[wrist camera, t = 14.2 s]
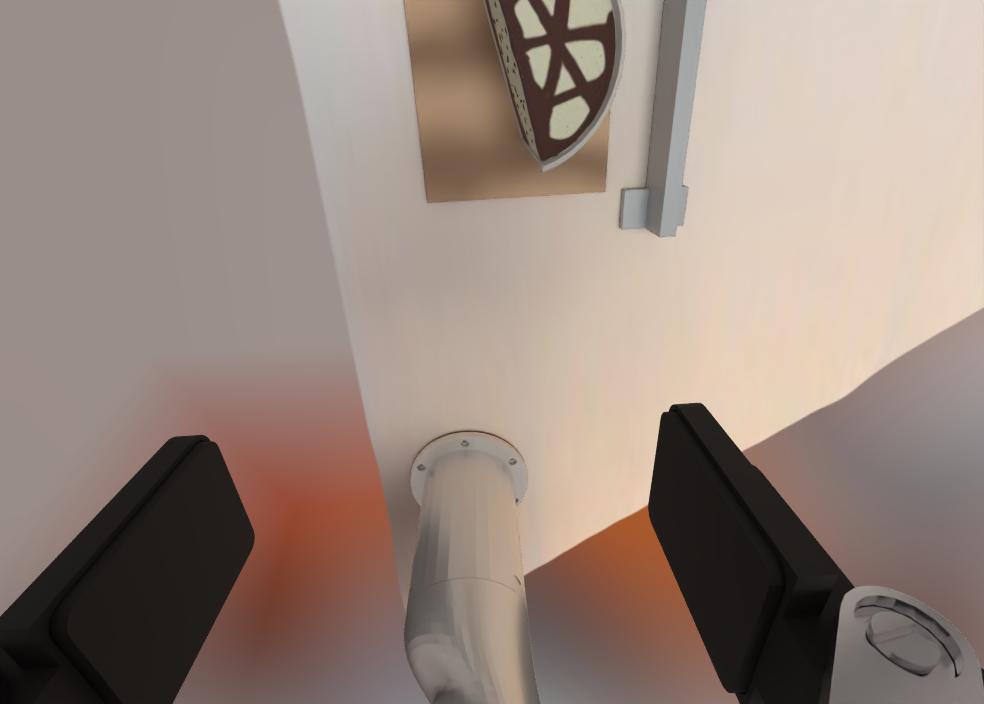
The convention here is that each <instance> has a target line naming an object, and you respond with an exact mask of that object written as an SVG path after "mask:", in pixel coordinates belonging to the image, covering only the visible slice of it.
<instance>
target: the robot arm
mask: <svg viewBox="0 0 984 704" xmlns="http://www.w3.org/2000/svg"><path fill="white" fill-rule="evenodd" d="M527 482H528V478H527V470H526V467H525V463H524V461H523V459H522V457H521V456H520V454H519V453H518V452H517V451H516V450H515V449H514V447H512V446H511V445H510V444H508V443H507V442H505V441H504V440H502V439H499V438H497V437H495V436H492V435H488V434H485V433H478V432H460V433H454V434H449V435H447V436H444V437H441V438H439V439H437V440H435V441H433V442H431V443H430V444H429V445H427V446H426V447H425V448H424V449H423V450H422V451H421V452H420V453H419V455H418V456H417V457H416V459H415V461H414V463H413V465H412V470H411V474H410V487H411V492H412V494H413V497H414V499H415V501H416V502H417V503H418V505H419V506H420V507H421V509H420V517H419V524H418V531H417V538H416V546H415V553H414V560H413V567H412V575H411V582H410V589H409V597H408V604H407V611H406V619H405V627H404V644H405V651H406V656H407V660H408V663H409V666H410V668H411V670H412V673H413V675H414V677H415V679H416V681H417V682H418V684H419V686H420V688H421V689H422V691H423V693H424V694H425V696H426V698H427V699H428V701H429V702H430V704H540V699H539V694H538V689H537V683H536V678H535V672H534V665H533V657H532V650H531V642H530V633H529V624H528V615H527V606H526V596H525V587H524V577H523V568H522V558H521V549H520V539H519V530H518V521H517V511H516V507H517V506H518V505H519V503H520V502H521V500H522V499H523V497H524V495H525V492H526V489H527ZM648 510H649V517H650V521H651V523H652V526H653V528H654V530H655V532H656V535H657V537H658V539H659V542H660V544H661V546H662V548H663V551H664V553H665V556H666V558H667V560H668V562H669V565H670V567H671V569H672V571H673V574H674V576H675V578H676V581H677V583H678V585H679V587H680V590H681V592H682V594H683V597H684V599H685V601H686V604H687V606H688V608H689V611H690V613H691V615H692V617H693V619H694V622H695V624H696V627H697V629H698V631H699V633H700V635H701V638H702V640H703V642H704V645H705V647H706V650H707V652H708V654H709V656H710V659H711V661H712V663H713V665H714V668H715V670H716V672H717V675H718V677H719V679H720V681H721V683H722V685H723V687H724V688H725V690H726V691H727V692H728V693H735V694H736V696H737V698H738V700H739V703H740V704H984V669H982V668H981V667H980V665H979V662H978V659H977V656H976V653H975V651H974V650H973V648H972V647H971V646H970V644H969V643H968V641H967V640H966V639H965V637H964V636H963V635H962V634H961V633H960V632H959V631H958V630H957V629H956V628H955V627H954V626H953V625H952V624H951V623H950V622H949V621H948V620H947V619H946V618H944V617H943V616H942V615H940V614H939V613H937V612H936V611H935V610H933V609H932V608H930V607H929V606H927V605H926V604H924V603H922V602H920V601H918V600H916V599H914V598H912V597H911V596H908V595H907V594H904V593H901V592H898V591H895V590H892V589H889V588H885V587H877V586H862V587H856V588H855V587H854V586H853V585H852V583H851V582H850V581H849V580H848V578H847V577H846V576H845V575H844V573H843V572H842V571H841V570H840V569H839V567H838V566H837V565H836V564H835V562H834V561H833V560H832V559H831V557H830V556H829V555H828V554H827V552H826V551H825V550H824V549H823V547H822V546H821V545H820V544H819V543H818V541H817V540H816V539H815V538H814V536H813V535H812V534H811V533H810V531H809V530H808V529H807V528H806V527H805V525H804V524H803V523H802V522H801V520H800V519H799V518H798V517H797V515H796V514H795V513H794V512H793V510H792V509H791V508H790V507H789V505H788V504H787V503H786V502H785V501H784V499H783V498H782V497H781V496H780V494H779V493H778V492H777V491H776V489H775V488H774V487H773V486H772V485H771V483H770V482H769V481H768V480H767V479H766V477H765V476H764V475H763V473H762V472H761V471H760V470H759V469H758V468H757V467H755V466H753V465H751V464H750V462H749V461H748V460H747V458H746V457H745V456H744V455H743V453H742V452H741V451H740V450H739V448H738V447H737V446H736V445H735V443H734V442H733V441H732V440H731V438H730V437H729V436H728V435H727V433H726V432H725V431H724V430H723V428H722V427H721V426H720V425H719V423H718V422H717V421H716V420H715V418H714V417H713V416H712V415H711V413H710V412H709V411H708V410H707V408H706V407H705V406H704V405H703V404H701V403H689V404H674V405H672V406H671V407H670V409H669V412H664V413H663V414H662V415H661V420H660V427H659V434H658V441H657V448H656V455H655V462H654V469H653V476H652V483H651V490H650V497H649V504H648ZM254 539H255V538H254V530H253V528H252V526H251V523H250V521H249V518H248V516H247V513H246V511H245V509H244V506H243V504H242V502H241V499H240V497H239V494H238V492H237V490H236V487H235V485H234V483H233V480H232V478H231V476H230V473H229V471H228V468H227V466H226V464H225V461H224V459H223V456H222V454H221V452H220V449H219V447H218V445H217V444H216V443H215V442H212V441H210V440H209V438H208V437H206V436H204V435H194V436H180V437H173V438H171V439H169V440H168V441H167V442H166V443H165V444H164V445H163V446H162V447H161V448H160V449H159V450H158V451H157V453H155V454H154V456H153V457H152V458H151V459H150V460H149V461H148V462H147V463H146V464H145V465H144V466H143V467H142V468H141V469H140V470H139V471H138V472H137V474H135V476H134V477H133V478H132V479H131V480H130V481H129V482H128V483H127V484H126V485H125V486H124V487H123V488H122V489H121V490H120V491H119V492H118V493H117V495H116V496H115V497H114V498H113V499H112V500H111V501H110V502H109V503H108V504H107V505H106V506H105V507H104V508H103V509H102V510H101V511H100V512H99V513H98V515H96V517H95V518H94V519H93V520H92V521H91V522H90V523H89V524H88V525H87V526H86V527H85V528H84V529H83V530H82V531H81V532H80V533H79V535H77V536H76V538H75V539H74V540H73V541H72V542H71V543H70V544H69V545H68V546H67V547H66V548H65V549H64V550H63V551H62V552H61V554H59V555H58V556H57V558H56V559H55V560H54V561H53V562H52V563H51V564H50V565H49V566H48V567H47V568H46V569H45V570H44V571H43V572H42V573H41V574H40V575H39V577H37V579H36V580H35V581H34V582H33V583H32V584H31V585H30V586H29V587H28V588H27V589H26V590H25V591H24V592H23V593H22V594H21V595H20V596H19V597H18V599H17V600H16V601H15V602H14V603H13V604H12V605H11V606H10V607H9V608H8V609H7V610H6V611H5V612H4V613H3V614H2V615H1V616H0V704H173V701H174V700H175V697H176V696H177V694H178V692H179V690H180V688H181V686H182V684H183V682H184V680H185V678H186V676H187V674H188V673H189V671H190V669H191V667H192V665H193V663H194V661H195V659H196V657H197V655H198V653H199V651H200V649H201V647H202V645H203V643H204V642H205V639H206V637H207V636H208V634H209V632H210V630H211V628H212V626H213V624H214V622H215V620H216V618H217V616H218V614H219V612H220V611H221V609H222V606H223V605H224V603H225V601H226V599H227V597H228V595H229V593H230V591H231V589H232V587H233V585H234V583H235V581H236V580H237V578H238V576H239V574H240V572H241V570H242V568H243V566H244V564H245V562H246V560H247V558H248V556H249V554H250V552H251V550H252V548H253V544H254Z"/></svg>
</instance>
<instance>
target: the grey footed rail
mask: <svg viewBox="0 0 984 704" xmlns="http://www.w3.org/2000/svg"><path fill="white" fill-rule="evenodd" d="M706 2H707V0H664V6H663V17H662V27H661V37H660V48H659V58H658V68H657V78H656V89H655V99H654V109H653V119H652V130H651V140H650V150H649V161H648V171H647V181H646V188H637V189H622V198H621V212H620V225H619V228H621V229H622V230H623V229H639V228H646V229H648V230H649V231H651V232H652V233H654V234H655V235H657V236H658V237H674V236H676V229H677V226H683V224H684V217H685V210H686V203H687V195H688V188H689V187H687V186H682V184H683V176H684V168H685V161H686V153H687V146H688V138H689V131H690V123H691V116H692V108H693V100H694V93H695V85H696V78H697V70H698V63H699V55H700V47H701V40H702V32H703V25H704V17H705V10H706Z"/></svg>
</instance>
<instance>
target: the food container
mask: <svg viewBox="0 0 984 704" xmlns="http://www.w3.org/2000/svg"><path fill="white" fill-rule="evenodd" d="M483 3H484V6H485V10H486V13H487V17H488V21H489V24H490V28H491V32H492V35H493V39H494V42H495V46H496V50H497V53H498V57H499V61H500V64H501V68H502V72H503V75H504V79H505V82H506V86H507V90H508V93H509V97H510V101H511V104H512V108H513V111H514V115H515V119H516V122H517V126H518V130H519V133H520V137H521V141H522V143H523V144H524V145H525V146H526V148H527V149H528V150H529V152H530V153H531V154H532V155H533V157H534V158H535V159H536V161H537V162H538V163H539V164H540V166H541V167H542V170H541V171H540V172H541V174H543V173H545V172H547V171H549V170H551V169H553V168H555V167H557V166H559V165H560V164H562V163H563V162H565V161H566V160H568V159H569V158H571V157H572V156H573V155H574V154H575V153H576V152H577V151H578V150H580V149H581V148H582V147H583V146H584V145H585V144H586V142H587V141H588V140H589V139H590V138H591V136H592V135H593V134H594V133H595V132H596V131H597V129H598V128H599V126H600V124H601V123H602V121H603V120H604V118H605V117H606V115H607V113H608V111H609V109H610V107H611V104H612V102H613V100H614V98H615V95H616V92H617V89H618V86H619V83H620V79H621V76H622V70H623V64H624V58H625V42H626V31H625V20H624V11H623V7H622V3H621V0H483Z"/></svg>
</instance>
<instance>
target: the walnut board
mask: <svg viewBox="0 0 984 704" xmlns="http://www.w3.org/2000/svg"><path fill="white" fill-rule="evenodd" d="M404 3H405V11H406V20H407V29H408V37H409V46H410V55H411V63H412V72H413V80H414V89H415V98H416V106H417V115H418V124H419V132H420V141H421V150H422V158H423V167H424V176H425V184H426V193H427V201H428V203H432V202H448V201H464V200H480V199H496V198H512V197H528V196H544V195H560V194H576V193H592V192H605V189H606V172H607V155H608V138H609V120H610V109H609V111H608V113H607V115H606V117H605V118H604V120H603V121H602V123H601V124H600V126H599V128H598V129H597V131H596V132H595V133H594V134H593V135H592V136H591V138H590V139H589V140H588V141H587V142H586V144H585V145H584V146H583V147H582V148H581V149H580V150H578V151H577V152H576V153H575V154H574V155H573V156H572V157H571V158H569V159H568V160H566V161H565V162H563V163H562V164H560V165H559V166H557V167H555V168H553V169H551V170H549V171H547V172H545V173H543V174H541V172H540V171H541V170H542V167H541V166H540V164H539V163H538V162H537V161H536V159H535V158H534V157H533V155H532V154H531V153H530V152H529V150H528V149H527V148H526V146H525V145H524V144H523V143H522V141H521V137H520V133H519V130H518V126H517V122H516V119H515V115H514V111H513V108H512V104H511V101H510V97H509V93H508V90H507V86H506V82H505V79H504V75H503V72H502V68H501V64H500V61H499V57H498V53H497V50H496V46H495V42H494V39H493V35H492V32H491V28H490V24H489V21H488V17H487V13H486V10H485V6H484V3H483V0H404Z"/></svg>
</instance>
